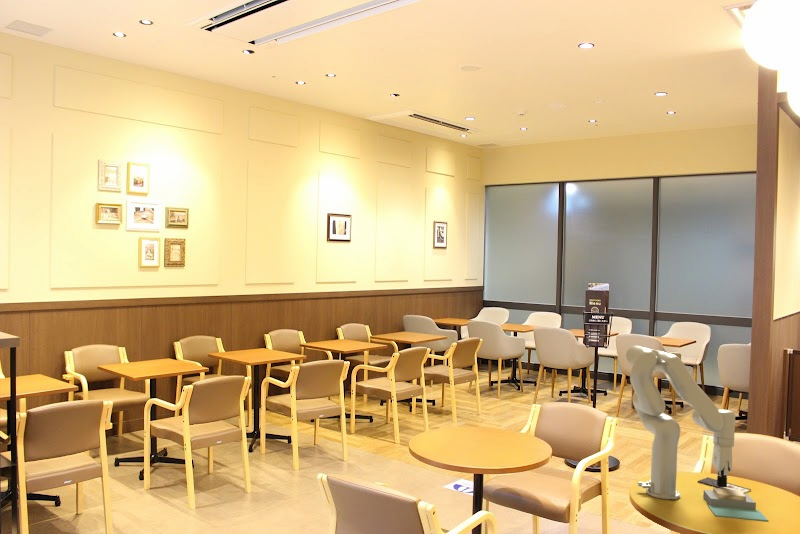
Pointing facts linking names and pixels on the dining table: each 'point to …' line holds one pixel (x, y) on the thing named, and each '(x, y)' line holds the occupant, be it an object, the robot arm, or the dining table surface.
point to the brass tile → (729, 494)
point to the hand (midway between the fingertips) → (721, 486)
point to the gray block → (729, 501)
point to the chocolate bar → (729, 486)
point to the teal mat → (737, 513)
